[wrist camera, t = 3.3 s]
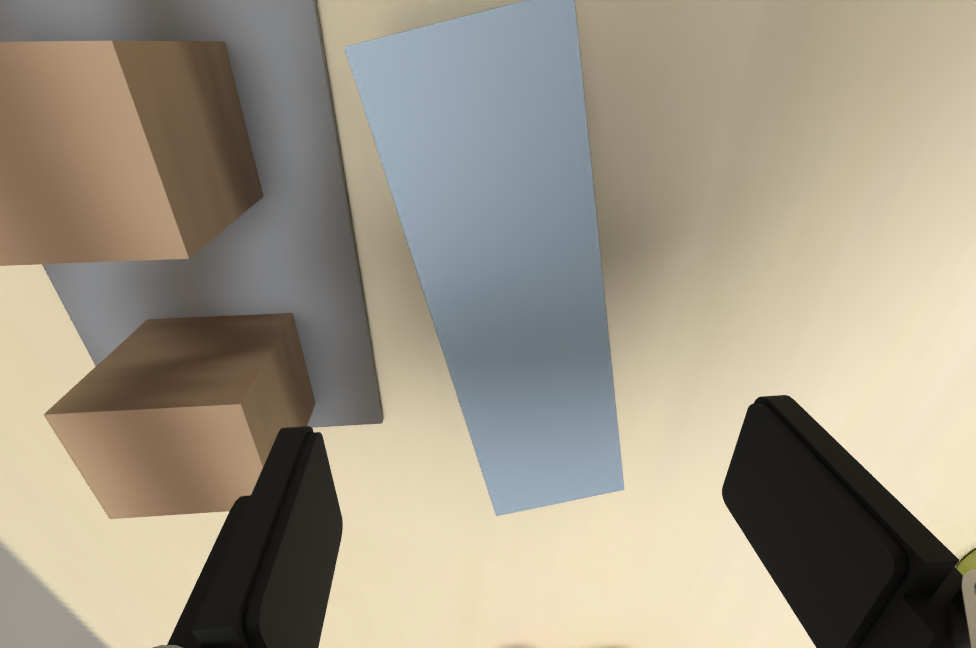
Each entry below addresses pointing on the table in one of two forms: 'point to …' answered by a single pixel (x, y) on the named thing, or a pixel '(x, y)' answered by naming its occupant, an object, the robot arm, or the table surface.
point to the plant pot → (968, 563)
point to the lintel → (504, 237)
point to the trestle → (184, 236)
